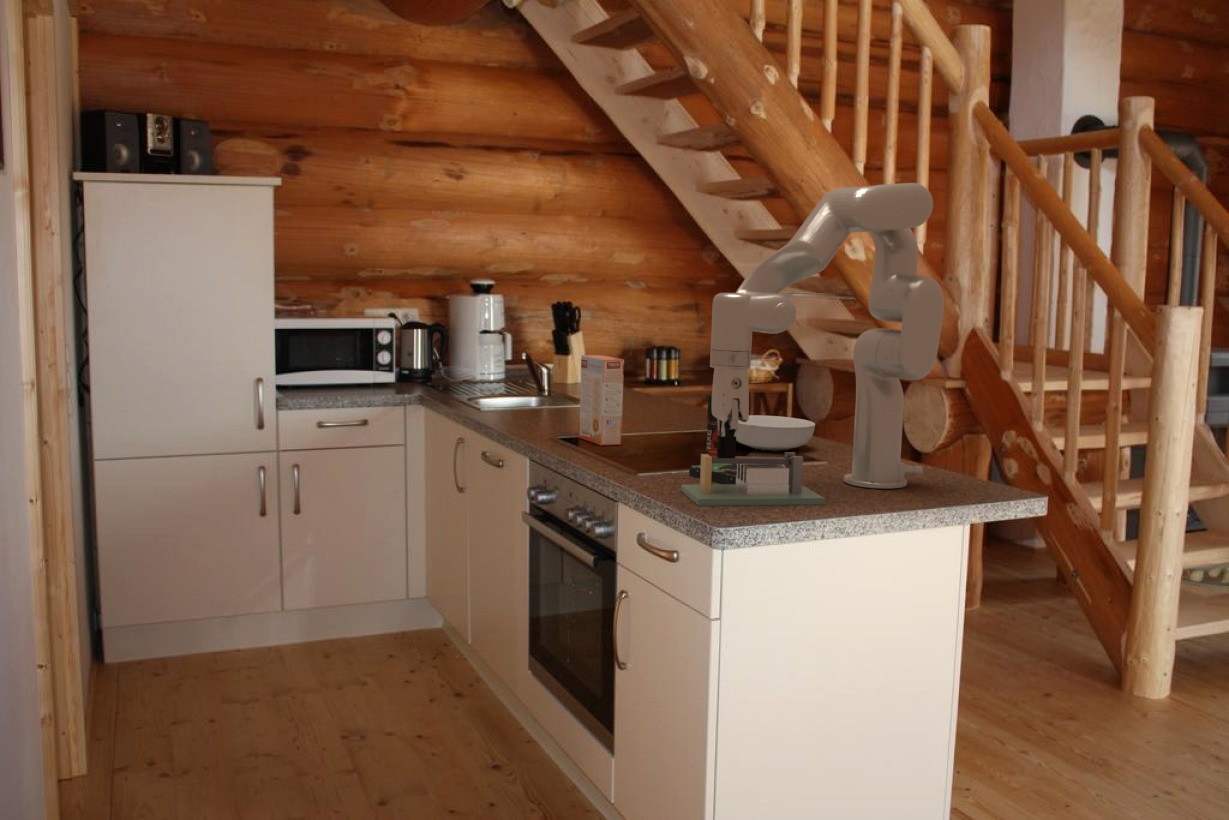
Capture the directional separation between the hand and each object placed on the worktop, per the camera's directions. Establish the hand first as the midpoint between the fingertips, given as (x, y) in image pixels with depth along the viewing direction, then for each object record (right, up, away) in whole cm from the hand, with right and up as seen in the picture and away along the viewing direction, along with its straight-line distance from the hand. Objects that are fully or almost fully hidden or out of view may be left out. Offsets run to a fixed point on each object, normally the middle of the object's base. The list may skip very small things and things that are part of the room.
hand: (726, 457), depth 219 cm
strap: (+6, -1, +1) cm, 6 cm away
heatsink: (+7, -7, +2) cm, 10 cm away
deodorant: (+2, -3, +41) cm, 41 cm away
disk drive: (+3, -6, +21) cm, 22 cm away
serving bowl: (+17, -1, +63) cm, 66 cm away
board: (+5, -8, +2) cm, 9 cm away
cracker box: (-24, +1, +66) cm, 71 cm away
